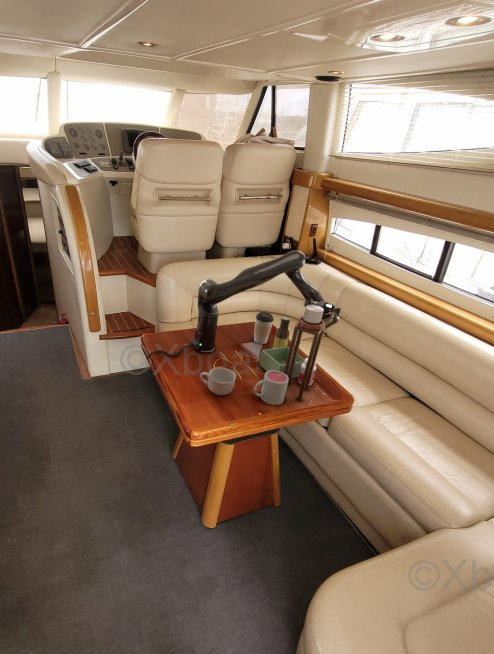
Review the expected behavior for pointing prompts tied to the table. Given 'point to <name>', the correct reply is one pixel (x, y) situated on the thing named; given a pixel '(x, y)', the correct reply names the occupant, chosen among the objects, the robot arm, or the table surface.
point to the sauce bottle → (282, 333)
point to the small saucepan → (313, 314)
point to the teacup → (219, 380)
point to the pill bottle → (304, 371)
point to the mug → (273, 387)
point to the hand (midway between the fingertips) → (321, 304)
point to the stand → (317, 332)
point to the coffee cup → (262, 327)
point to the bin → (279, 360)
